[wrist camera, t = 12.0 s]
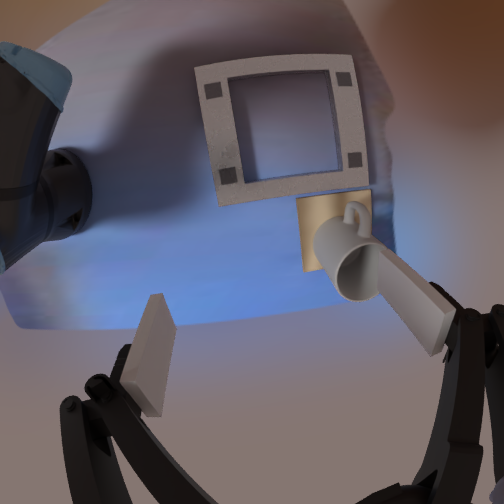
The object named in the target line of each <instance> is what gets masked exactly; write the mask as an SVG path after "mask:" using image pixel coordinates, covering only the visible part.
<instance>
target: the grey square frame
mask: <svg viewBox="0 0 504 504" xmlns="http://www.w3.org/2000/svg"><path fill="white" fill-rule="evenodd" d="M194 70H195V76H196V82H197V88H198V94H199V100H200V106H201V112H202V118H203V124H204V129H205V135H206V141H207V146H208V152H209V157H210V162H211V168H212V173H213V178H214V184H215V189H216V194H217V199H218V204H219V207H221V206H227V205H232V204H238V203H244V202H250V201H256V200H263V199H269V198H276V197H282V196H289V195H296V194H303V193H311V192H318V191H326V190H335V189H343V188H352V187H361V186H369V177H368V163H367V151H366V141H365V131H364V123H363V116H362V108H361V102H360V96H359V90H358V84H357V78H356V73H355V68H354V63H353V59H352V55H342V54H292V55H275V56H263V57H254V58H245V59H238V60H231V61H225V62H219V63H214V64H208V65H203V66H199V67H194ZM294 73H325V76H326V82H327V87H328V93H329V99H330V105H331V112H332V118H333V126H334V133H335V141H336V150H337V159H338V169H339V170H330V171H320V172H312V173H303V174H295V175H288V176H280V177H273V178H267V179H260V180H254V181H247V182H244V176H243V170H242V164H241V158H240V152H239V146H238V140H237V134H236V129H235V123H234V117H233V111H232V105H231V99H230V93H229V88H228V82H227V81H230V80H236V79H243V78H251V77H259V76H268V75H279V74H294Z"/></svg>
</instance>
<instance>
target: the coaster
mask: <svg viewBox="0 0 504 504" xmlns="http://www.w3.org/2000/svg"><path fill="white" fill-rule="evenodd" d="M350 201H357V202H360V203H362V204H363V205H365V206H366V207H367V209H368V210H369V212H370V215H371V233H370V234H372V210H371V190H370V189H365V190H356V191H347V192H339V193H331V194H323V195H315V196H308V197H301V198H296V204H297V213H298V222H299V232H300V242H301V253H302V265H303V272H309V271H314V270H320V269H324V268H323V267H322V265H321V264H320V262H319V261H318V259H317V258H316V256H315V254H314V250H313V239H314V235H315V233H316V231H317V229H318V228H319V227H320V226H321V225H322V224H323V223H324V222H325V221H327V220H328V219H330V218H333V217H337V216H344V213H345V207H346V205H347V203H348V202H350ZM354 220H355V221H356V222H357V223H358V224H359V225H360V217H359V214H358V212H357V210H355V217H354Z"/></svg>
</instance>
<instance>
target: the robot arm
mask: <svg viewBox="0 0 504 504" xmlns="http://www.w3.org/2000/svg"><path fill="white" fill-rule="evenodd" d="M71 85H72V75H71V72H70V71H69V70H68V69H67V68H66V67H65V66H63V65H62V64H60V63H58V62H56V61H55V60H53V59H51V58H49V57H47V56H45V55H42V54H40V53H38V52H36V51H33V50H31V49H28V48H25V47H24V48H22V47H21V46H18V45H15V44H13V43H9V42H5V41H3V42H0V275H2V274H3V273H4V272H5V271H6V270H7V269H8V268H9V267H11V266H12V265H13V264H14V263H16V262H17V261H18V260H19V259H21V258H22V257H23V256H24V255H26V254H27V253H28V252H30V251H31V250H32V249H34V248H35V247H36V246H38V245H39V244H40V243H42V242H46V241H55V240H62V239H65V238H67V237H69V236H71V235H72V234H74V233H75V232H77V231H78V230H79V229H80V228H81V227H82V226H83V225H84V223H85V222H86V220H87V218H88V216H89V213H90V209H91V204H92V187H91V182H90V178H89V175H88V172H87V170H86V168H85V166H84V165H83V163H82V162H81V160H80V159H79V158H78V157H77V156H76V155H74V154H73V153H71V152H69V151H67V150H63V149H54V150H49V151H48V147H49V144H50V141H51V138H52V135H53V132H54V130H55V127H56V124H57V121H58V119H59V116H60V114H61V113H62V112H63V109H64V108H63V105H64V102H65V100H66V97H67V95H68V92H69V90H70V87H71ZM377 290H378V291H379V292H380V293H381V295H382V296H383V297H384V298H385V299H386V301H387V302H388V303H389V304H390V305H391V307H392V308H393V309H394V310H395V312H396V313H397V314H398V315H399V316H400V318H401V319H402V320H403V322H404V323H405V324H406V325H407V327H408V328H409V329H410V330H411V332H412V333H413V334H414V336H415V337H416V338H417V339H418V341H419V342H420V343H421V345H422V346H423V347H424V349H425V350H426V352H427V353H428V354H429V356H430V357H431V356H433V355H435V354H438V353H439V352H441V351H442V349H443V346H444V344H446V345H447V346H448V350H447V352H446V354H445V357H444V359H443V363H444V362H445V369H444V376H443V383H442V389H441V394H440V400H439V405H438V409H437V414H436V418H435V422H434V427H433V430H432V434H431V438H430V441H429V445H428V448H427V451H426V454H425V457H424V460H423V463H422V466H421V468H420V470H419V471H418V473H417V474H416V476H415V478H414V480H413V482H412V485H403V486H400V484H399V483H396V484H394V485H392V486H389V487H387V488H385V489H382V490H379V491H377V492H375V493H372V494H371V495H369V496H367V497H366V498H364V499H363V500H361V501H359V502H357V503H356V504H472V503H471V500H472V496H473V493H474V490H475V486H476V483H477V479H478V475H479V471H480V467H481V462H482V457H483V446H481V445H479V438H480V432H481V424H482V416H483V406H484V391H485V387H486V393H487V399H488V405H489V412H490V419H491V428H492V439H493V462H494V474H495V482H496V485H495V488H494V490H493V491H492V492H491V494H490V497H489V499H490V501H491V502H493V503H492V504H504V305H500V304H496V305H494V306H493V307H492V309H491V312H490V313H487V314H480V313H479V312H478V311H477V310H475V309H472V308H466V309H464V308H463V307H462V306H461V305H460V304H459V303H458V302H457V301H456V300H455V299H454V298H453V297H452V296H449V294H448V293H447V292H445V290H444V289H443V288H442V287H441V286H439V285H437V284H436V283H433V282H429V283H428V282H427V281H426V280H425V279H424V278H423V277H421V276H420V275H419V274H418V273H417V272H416V271H415V270H413V269H412V268H411V267H410V266H409V265H408V264H407V263H405V262H404V261H403V260H402V259H401V258H400V257H398V256H397V255H396V254H395V253H394V252H393V251H391V250H390V249H387V250H383V251H379V265H378V280H377ZM176 330H177V329H176V326H175V324H174V321H173V319H172V316H171V314H170V311H169V309H168V306H167V304H166V301H165V299H164V296H163V293H160V294H153V295H150V298H149V300H148V303H147V305H146V308H145V310H144V313H143V316H142V318H141V321H140V324H139V326H138V329H137V332H136V334H135V337H134V340H133V343H132V344H125V345H124V346H123V348H122V349H121V350H120V351H119V353H118V356H117V360H116V362H115V364H114V365H115V366H114V367H113V370H112V372H111V375H110V378H109V377H108V376H106V375H105V374H96V375H94V376H92V377H91V378H90V379H88V381H87V382H86V384H85V392H86V393H87V395H88V396H89V397H90V398H91V399H90V400H86V401H81V400H80V398H78V397H77V396H74V395H73V396H69V397H67V398H65V399H64V400H63V401H62V403H61V405H60V424H61V436H62V446H63V454H64V461H65V467H66V473H67V478H68V483H69V488H70V493H71V497H72V501H73V504H133V503H132V501H131V498H130V496H129V493H128V490H127V488H126V485H125V482H124V479H123V476H122V474H121V471H120V467H119V464H118V461H117V458H116V455H115V451H114V447H113V444H112V440H111V436H113V438H114V440H115V441H116V443H117V445H118V446H119V448H120V450H121V451H122V453H123V454H124V456H125V458H126V459H127V461H128V462H129V464H130V465H131V467H132V468H133V470H134V471H135V472H136V474H137V475H138V477H139V478H140V479H141V481H142V482H143V484H144V485H145V486H146V488H147V489H148V490H149V492H150V493H151V494H152V495H153V497H154V498H155V499H156V500H157V502H158V503H159V504H218V503H217V502H216V501H215V500H214V499H213V498H212V497H211V496H209V495H208V494H207V493H206V492H205V491H204V490H203V489H202V488H201V487H200V486H199V485H198V484H197V483H196V482H195V481H194V480H193V479H192V478H191V477H190V476H189V475H188V474H187V473H186V472H185V471H184V470H183V468H182V467H181V466H180V465H179V464H178V463H177V462H176V461H175V460H174V458H173V457H172V456H171V455H170V454H169V453H168V452H167V450H166V449H165V448H164V447H163V446H162V444H161V443H160V442H159V441H158V439H157V438H156V437H155V436H154V434H153V433H152V432H151V430H150V429H149V428H148V427H147V426H146V424H145V423H144V421H143V420H142V419H141V418H140V416H141V411H142V412H143V413H144V414H145V415H146V416H147V417H161V416H162V409H163V403H164V396H165V390H166V384H167V377H168V372H169V366H170V361H171V355H172V350H173V345H174V340H175V334H176ZM498 345H499V346H498ZM445 360H446V361H445Z"/></svg>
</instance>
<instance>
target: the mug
mask: <svg viewBox="0 0 504 504" xmlns="http://www.w3.org/2000/svg"><path fill="white" fill-rule="evenodd" d="M355 210H357V212H358V214H359V217H360V225H359V224H358V223H357V222H356V221H355V220H354V217H355ZM370 233H371V215H370V212H369V210H368V209H367V207H366V206H365V205H363V204H362V203H360V202H357V201H350V202H348V203H347V205H346V207H345V213H344V216H337V217H333V218H330V219H328V220H327V221H325V222H324V223H323V224H322V225H321V226H320V227H319V228H318V229H317V231H316V233H315V235H314V239H313V250H314V254H315V256H316V258H317V259H318V261H319V262H320V264H321V265H322V267H323V268H324V270H325V272H326V273H327V275H328V277H329V278H330V280H331V282H332V283H333V285H334V286H335V288H336V290H337V291H338V293H339V294H340V295H341V296H342V297H343V298H345V299H347V300H349V301H353V302H362V301H366V300H369V299H372V298H374V297H375V296H377V295H378V294H379V293H380V292H379V291H378V290H377V280H378V265H379V251H383V250H387V249H388V248H387V247H386V246H385V245H384V244H383V243H381V242H380V241H379V240H378V239H377V238H375V237H374V236H373V235H372V234H370Z"/></svg>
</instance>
